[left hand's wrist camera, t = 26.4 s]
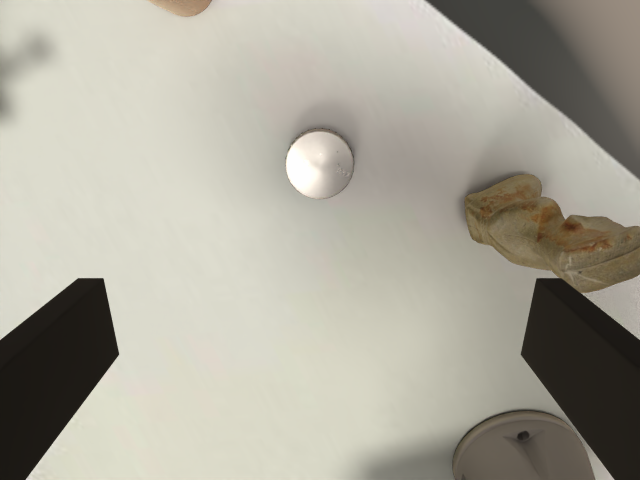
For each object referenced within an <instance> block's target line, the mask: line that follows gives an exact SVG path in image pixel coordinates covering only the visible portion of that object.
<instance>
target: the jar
mask: <svg viewBox="0 0 640 480" xmlns="http://www.w3.org/2000/svg"><path fill="white" fill-rule="evenodd" d="M147 1H149V2H151V3H153V4H155V5H157V6H159V7H161V8H163V9H165V10H167V11H169V12H171V13H173V14H175V15H178V16H185V17H188V16H194V15H197V14H199V13H200V12H202V11H203V10H204V9H206V8H207V6H208V5H209V4H210V2H211V0H147Z"/></svg>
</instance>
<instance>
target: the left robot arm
mask: <svg viewBox="0 0 640 480" xmlns="http://www.w3.org/2000/svg"><path fill="white" fill-rule="evenodd" d="M118 355H119V351H118V346H117V342H116V337H115V332H114V327H113V322H112V317H111V313H110V308H109V303H108V298H107V293H106V288H105V283H104V279H103V278H78V279H77V280H75V281H74V282H73V283H72V284H70V285H69V286H68V287H67V288H65V289H64V290H63V291H62V292H60V293H59V294H58V295H57V296H55V297H54V298H53V299H51V300H50V301H49V302H48V303H46V304H45V305H44V306H43V307H41V308H40V309H39V310H38V311H36V312H35V313H34V314H33V315H31V316H30V317H29V318H28V319H26V320H25V321H24V322H22V323H21V324H20V325H19V326H17V327H16V328H15V329H14V330H12V331H11V332H10V333H9V334H7V335H6V336H5V337H4V338H2V339H1V340H0V480H26V478H27V477H28V476H29V474H30V473H31V472H32V470H33V469H34V468H35V466H36V465H37V464H38V462H39V461H40V460H41V458H42V457H43V456H44V454H45V453H46V452H47V450H48V449H49V448H50V446H51V445H52V444H53V442H54V441H55V440H56V438H57V437H58V436H59V434H60V433H61V432H62V430H63V429H64V427H65V426H66V425H67V423H68V422H69V421H70V419H71V418H72V417H73V415H74V414H75V413H76V411H77V410H78V409H79V407H80V406H81V405H82V403H83V402H84V401H85V399H86V398H87V397H88V395H89V394H90V393H91V391H92V390H93V389H94V387H95V386H96V385H97V383H98V382H99V381H100V379H101V378H102V377H103V375H104V374H105V373H106V371H107V370H108V369H109V367H110V366H111V365H112V363H113V362H114V361H115V359H116V358H117V357H118ZM521 355H522V357H523V358H524V359H525V361H526V362H527V363H528V365H529V366H530V367H531V369H532V370H533V371H534V373H535V374H536V375H537V377H538V378H539V379H540V381H541V382H542V383H543V385H544V386H545V387H546V389H547V390H548V391H549V393H550V394H551V395H552V397H553V398H554V399H555V401H556V402H557V403H558V405H559V406H560V407H561V409H562V410H563V411H564V413H565V414H566V415H567V417H568V418H569V419H570V421H571V422H572V423H573V425H574V426H575V427H576V429H577V430H578V432H579V433H580V434H581V436H582V437H583V438H584V440H585V441H586V442H587V444H588V445H589V446H590V448H591V449H592V450H593V452H594V453H595V454H596V456H597V457H598V458H599V460H600V461H601V462H602V464H603V465H604V466H605V468H606V469H607V470H608V472H609V473H610V474H611V476H612V477H613V478H614V480H640V340H639V339H638V338H636V337H635V336H634V335H633V334H631V333H630V332H629V331H628V330H626V329H625V328H624V327H623V326H621V325H620V324H619V323H618V322H616V321H615V320H614V319H612V318H611V317H610V316H609V315H607V314H606V313H605V312H604V311H602V310H601V309H600V308H599V307H597V306H596V305H595V304H594V303H592V302H591V301H590V300H589V299H587V298H586V297H585V296H583V295H582V294H581V293H580V292H578V291H577V290H576V289H575V288H573V287H572V286H571V285H570V284H568V283H567V282H566V281H565V280H563V279H562V278H537V279H536V283H535V288H534V293H533V298H532V303H531V308H530V313H529V317H528V322H527V327H526V332H525V337H524V342H523V346H522V351H521ZM453 473H454V476H455V479H456V480H595V477H594V474H593V470H592V467H591V464H590V461H589V458H588V455H587V452H586V450H585V448H584V446H583V444H582V442H581V441H580V439H579V438H578V437H577V435H576V434H575V432H574V431H573V430H572V429H571V427H570V426H569V425H567V424H566V423H565V422H564V421H562V420H561V419H559V418H557V417H555V416H552V415H549V414H546V413H542V412H535V411H518V412H511V413H506V414H502V415H499V416H496V417H493V418H491V419H489V420H487V421H485V422H483V423H481V424H480V425H478V426H477V427H475V428H474V429H473V430H471V431H470V432H469V433H468V434H467V435H466V436H465V437H464V438H463V440H462V441H461V442H460V444H459V445H458V447H457V449H456V451H455V454H454V458H453Z"/></svg>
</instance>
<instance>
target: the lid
mask: <svg viewBox="0 0 640 480" xmlns="http://www.w3.org/2000/svg"><path fill="white" fill-rule="evenodd" d="M287 152H288V154H287V156H286V165H285V166H286V173H287V176H288V179H289V181H290V182H291V184H292V185H293V187H294V188H295V189H296V190H297V191H298V192H300V193H301V194H303V195H305V196H307V197H310V198H314V199H325V198H329V197H332V196H335V195H336V194H338V193H340V192H341V191H342V190H343V189H344V188H345V187H346V186H347V184H348V183H349V181H350V179H351V177H352V173H353V167H354V162H353V158H354V157H353V155H352V153H351V149H350V147H348V143H347V142H346V141H344V139H343V137H342V136H339V135H338V134H337V133H336V132H333V131H330V129H329V130H327V129H323V128H322V129H316V128H315V129H313V130H308V131H307V132H305V133H301V135H300V136H299V137H298V138H297V137H296V139H295V141H294V142H292V144H291V147H290V149H288V151H287Z"/></svg>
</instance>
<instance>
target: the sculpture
mask: <svg viewBox="0 0 640 480" xmlns="http://www.w3.org/2000/svg"><path fill="white" fill-rule="evenodd" d="M541 190H542V187H541V182H540V180H539V179H538V178H536V177H535V176H533V175H529V174H522V175H517V176H513V177H510V178H508V179H506V180H504V181H502V182H499V183H497V184H495V185H493V186H491V187H490V188H488V189H486V190H484V191H481V192H478V193H471V194H469V195H468V196H466V197H465V214H466V220H467V225H468V229H469V232H470V235H471V237H472V239H473V240H475V241H477V242H478V243H481V244H485V245H491V246H493V247H494V248H495V249H496V250H497V251H498V252H499V253H500V254H502V255H503V256H504V257H505V258H506V259H508V260H509V261H510V262H512V263H514V264H517V265H522V266H526V267H531V268H536V269H543V270H552V271H553V272H554V273H555V274H556V275H557V276H558V277H559V278H562V279H563V280H565V281H566V282H567V283H568V284H570V285H571V286H572V287H573V288H575V289H576V290H577V291H578V292H580V293H587V292H593V291H597V290H601V289H604V288H606V287H609V286H612V285H614V284H617V283H620V282H623V281H626V280H629V279H632V278H634V277H636V276H638V275H639V274H640V227H639V226H632V227H623V226H622V225H620V224H618V223H615V222H613V221H612V220H610V219H609V218H607V217H585V216H578V215H570V216H569V217H568V218H567V219H566V220H565V219H564V217H563V215H562V212H561V209H560V207H559V206H558V204H557V203H556V202H555V201H554V200H552V199H550V198H547V197H541Z"/></svg>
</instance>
